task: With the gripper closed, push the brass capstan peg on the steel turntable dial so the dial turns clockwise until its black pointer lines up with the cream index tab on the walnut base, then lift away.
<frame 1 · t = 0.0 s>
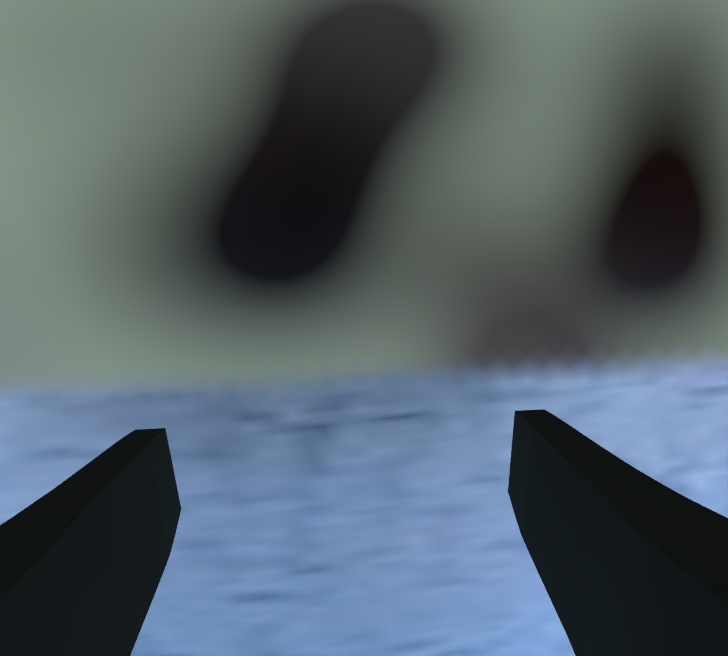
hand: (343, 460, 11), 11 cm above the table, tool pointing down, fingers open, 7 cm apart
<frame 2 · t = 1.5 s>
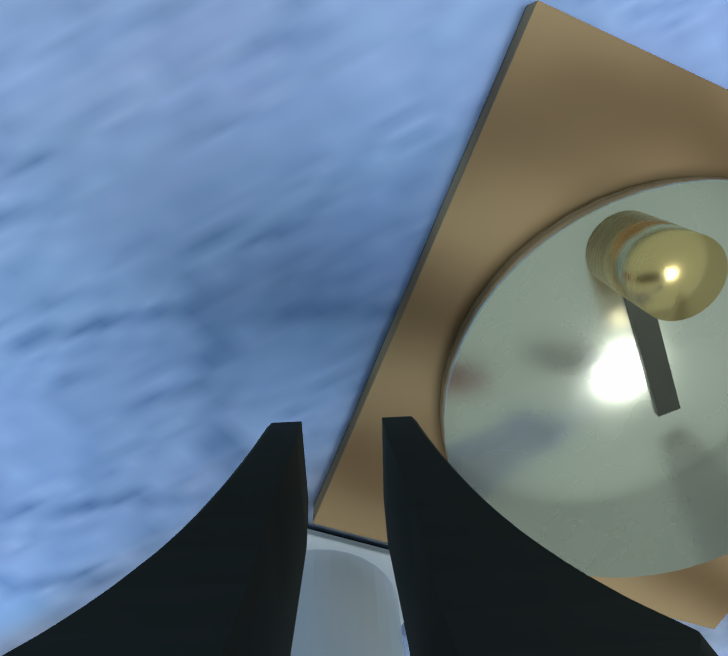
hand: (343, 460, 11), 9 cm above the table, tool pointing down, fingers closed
capstan dial: (684, 426, 19), point 3 cm above the table, hinge at 45.0°
dial base: (634, 379, 22), on the table
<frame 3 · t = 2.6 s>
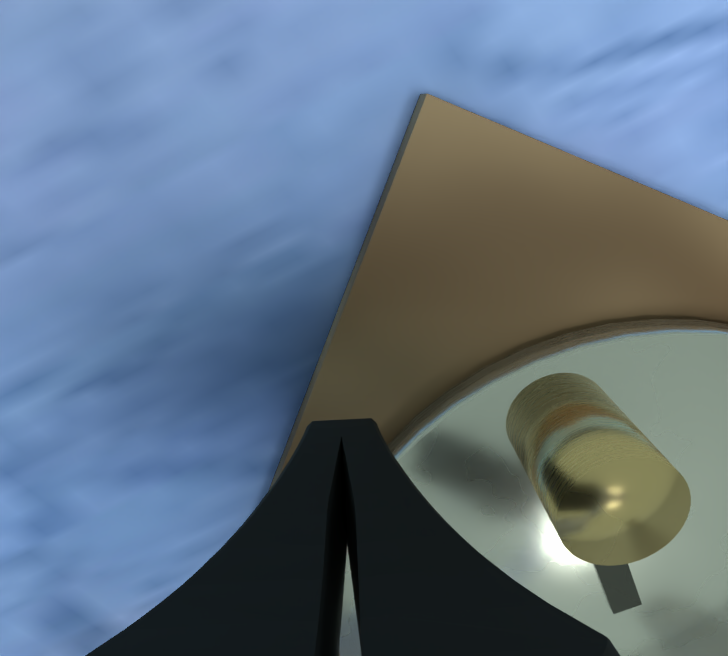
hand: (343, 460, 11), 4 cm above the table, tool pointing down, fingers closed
capstan dial: (644, 639, 14), point 3 cm above the table, hinge at 45.0°
dial base: (588, 541, 17), on the table
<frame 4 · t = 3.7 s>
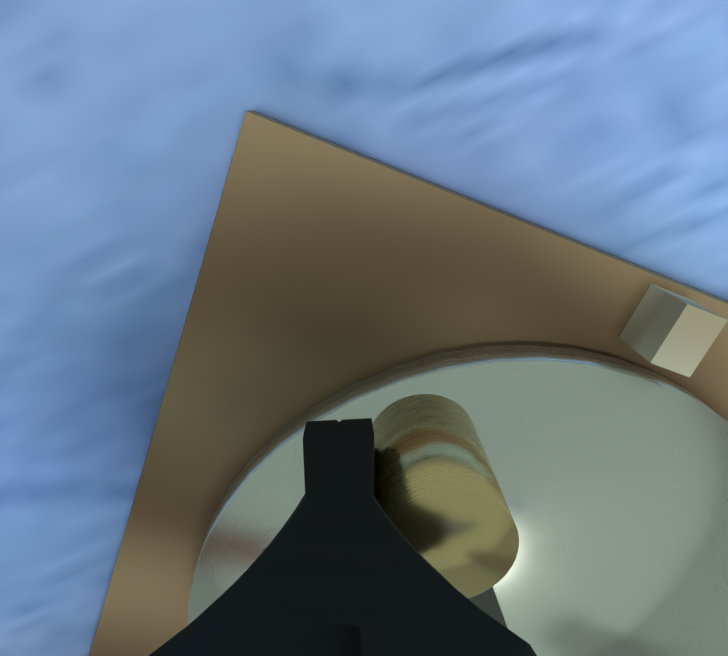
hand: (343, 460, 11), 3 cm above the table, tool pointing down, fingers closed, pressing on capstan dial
dial base: (474, 568, 17), on the table
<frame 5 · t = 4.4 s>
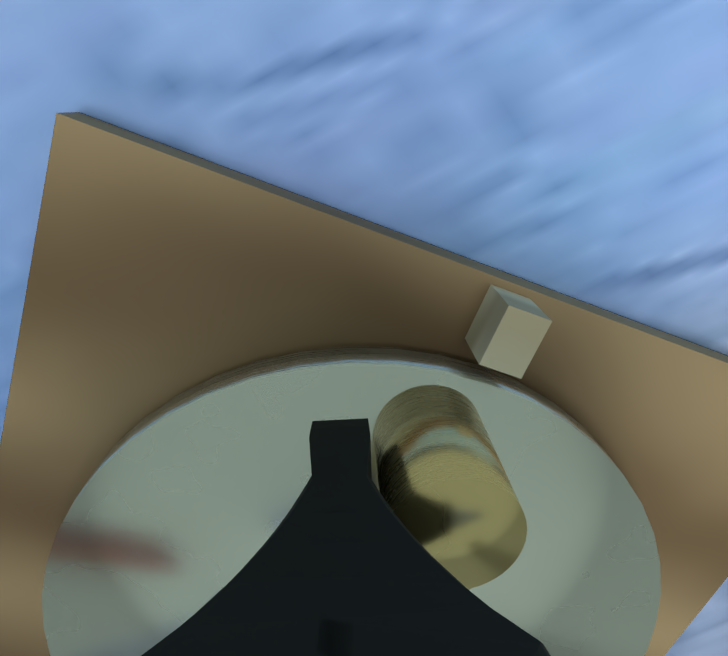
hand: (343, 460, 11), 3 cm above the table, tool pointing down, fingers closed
dial base: (356, 570, 17), on the table
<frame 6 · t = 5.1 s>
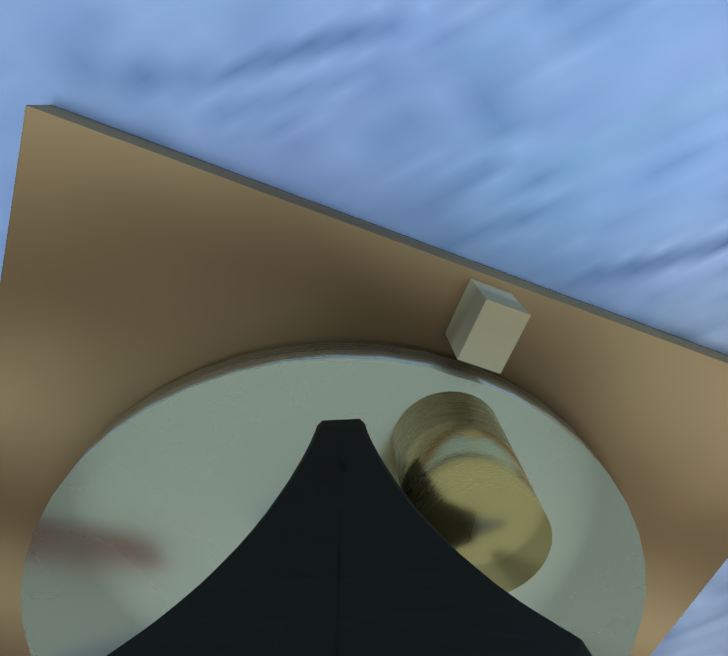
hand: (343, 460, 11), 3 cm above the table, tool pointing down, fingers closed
dial base: (341, 568, 17), on the table
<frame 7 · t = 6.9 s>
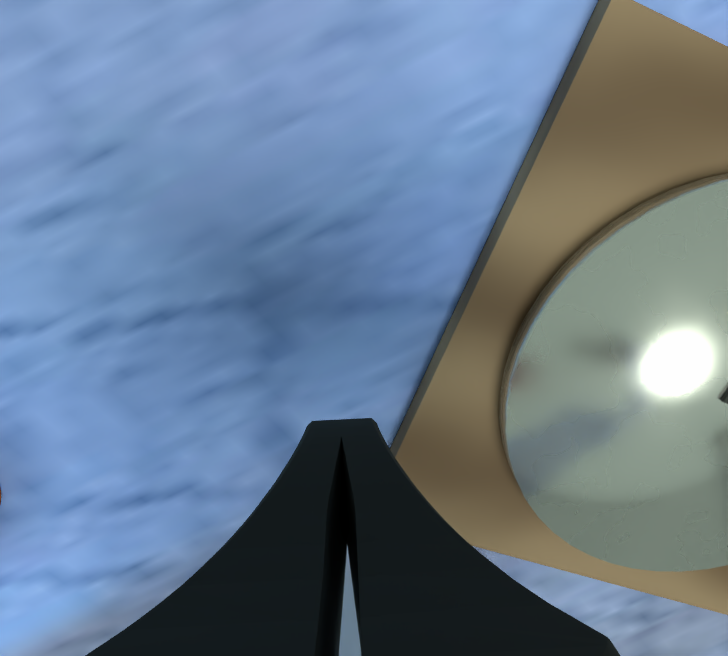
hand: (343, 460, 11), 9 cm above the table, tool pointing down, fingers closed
dial base: (690, 373, 22), on the table
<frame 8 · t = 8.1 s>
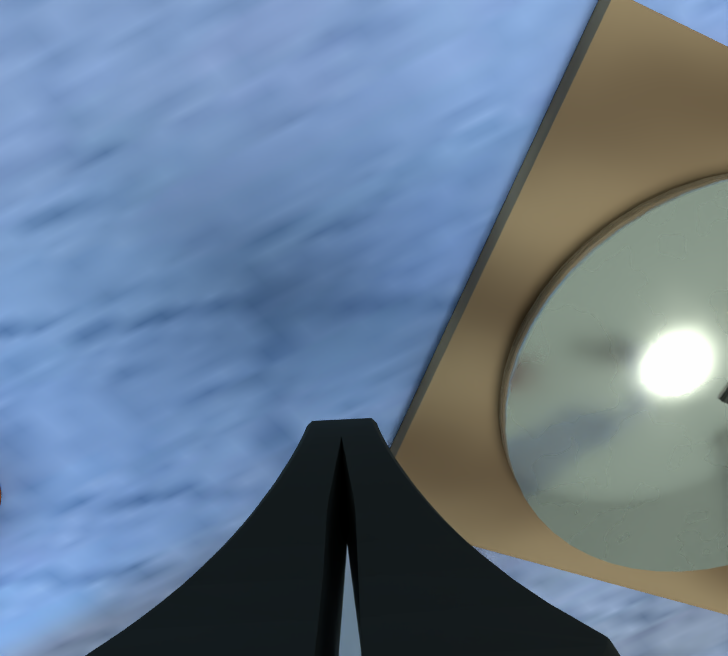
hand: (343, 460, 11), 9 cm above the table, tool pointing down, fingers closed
dial base: (690, 373, 22), on the table
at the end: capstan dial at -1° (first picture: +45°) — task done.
